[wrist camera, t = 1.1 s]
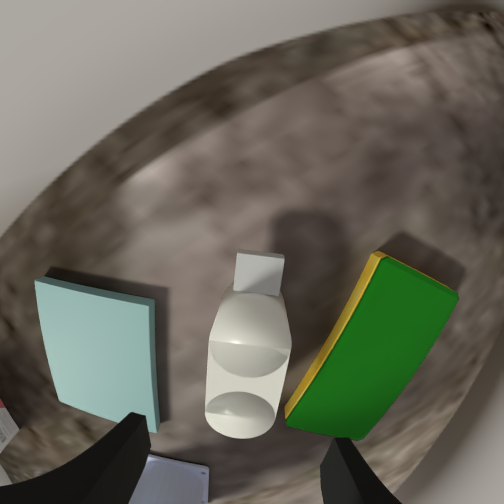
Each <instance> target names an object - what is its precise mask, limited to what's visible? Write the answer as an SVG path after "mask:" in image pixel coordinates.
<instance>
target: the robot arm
mask: <svg viewBox="0 0 504 504" xmlns="http://www.w3.org/2000/svg"><path fill="white" fill-rule="evenodd" d="M150 448H151V443H150V437H149V432H148V426H147V419H146V416H145V415H142V414H138V413H134V412H130V413H129V414H128V415H127V416H126V417H124V418H123V419H122V420H121V421H120V422H119V423H118V424H117V425H116V426H115V427H114V428H113V429H112V430H110V431H109V432H108V433H107V434H106V435H105V436H104V437H102V438H101V439H100V440H99V441H97V442H96V443H95V444H94V445H92V446H91V447H90V448H88V449H87V450H86V451H84V452H83V453H81V454H80V455H79V456H77V457H76V458H74V459H72V460H71V461H69V462H67V463H66V464H64V465H62V466H60V467H58V468H56V469H54V470H52V471H50V472H48V473H46V474H43V475H41V476H38V477H35V478H32V479H29V480H26V481H23V482H20V483H16V484H11V485H6V486H0V504H208V487H209V468H208V467H207V466H203V465H197V464H192V463H187V462H182V461H177V460H172V459H168V458H163V457H159V456H155V455H151V454H149V451H150ZM320 478H321V490H322V496H323V502H324V504H402V503H401V502H399V500H398V499H397V498H396V497H395V496H394V495H393V494H392V493H391V492H390V491H389V490H388V489H387V488H386V487H385V486H384V484H383V483H382V482H381V481H380V480H379V478H378V477H377V476H376V475H375V473H374V472H373V471H372V470H371V468H370V467H369V466H368V464H367V463H366V461H365V460H364V459H363V457H362V456H361V454H360V453H359V451H358V450H357V448H356V447H355V445H354V444H353V442H352V441H351V440H350V438H349V437H343V438H334V439H333V441H332V443H331V445H330V447H329V449H328V451H327V453H326V455H325V457H324V459H323V461H322V463H321V465H320Z"/></svg>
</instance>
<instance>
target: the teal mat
mask: <svg viewBox="0 0 504 504" xmlns="http://www.w3.org/2000/svg"><path fill="white" fill-rule="evenodd" d="M35 289H36V297H37V304H38V311H39V318H40V324H41V329H42V334H43V339H44V344H45V349H46V353H47V358H48V362H49V366H50V370H51V374H52V377H53V381H54V385H55V388H56V391H57V395H58V398H59V401H61V402H63V403H66V404H68V405H70V406H73V407H75V408H78V409H81V410H83V411H86V412H89V413H91V414H94V415H97V416H100V417H103V418H106V419H109V420H112V421H115V422H118V423H119V422H120V421H121V420H122V419H123V418H124V417H126V416H127V415H128V414H129V413H130V412H134V413H138V414H142V415H145V416H146V419H147V426H148V431H150V432H154V433H157V431H158V429H159V426H160V415H159V403H158V390H157V373H156V350H155V299H150V298H144V297H139V296H133V295H128V294H123V293H118V292H113V291H108V290H103V289H98V288H93V287H88V286H84V285H79V284H75V283H70V282H66V281H61V280H57V279H53V278H49V277H44V276H43V277H41V278H39V279H37V280H35Z"/></svg>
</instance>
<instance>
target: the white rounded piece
mask: <svg viewBox="0 0 504 504" xmlns="http://www.w3.org/2000/svg"><path fill="white" fill-rule="evenodd" d="M284 260H285V258H284V255H283V254H275V253H267V252H259V251H251V250H243V249H239V250H238V252H237V260H236V269H235V278H234V282H233V283H232V284H231V285H230V286H229V287H228V288H227V290H226V291H225V293H224V295H223V298H222V301H221V304H220V307H219V310H218V313H217V316H216V318H215V321H214V324H213V327H212V330H211V333H210V337H209V349H208V365H207V382H206V402H205V416H206V420H207V422H208V423H209V425H210V426H211V427H212V428H213V429H214V430H216V431H217V432H219V433H221V434H223V435H225V436H228V437H232V438H241V439H244V438H253V437H256V436H259V435H262V434H263V433H265V432H267V431H268V430H269V429H270V428H271V427H272V425H273V424H274V421H275V417H276V413H277V409H278V405H279V401H280V397H281V392H282V388H283V384H284V379H285V375H286V370H287V366H288V361H289V357H290V352H291V346H292V341H291V335H290V330H289V324H288V319H287V313H286V308H285V303H284V298H283V295H282V293H281V291H280V286H281V280H282V273H283V267H284Z"/></svg>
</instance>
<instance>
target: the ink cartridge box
mask: <svg viewBox="0 0 504 504" xmlns="http://www.w3.org/2000/svg"><path fill="white" fill-rule="evenodd" d="M18 431H19V428H18V426H17V425H16V423H15V422H14V420H13V419H12V417H11V416H10V414H9V412H8V411H7V409H6V407H5V406H4V404H3V402H2V401H1V399H0V453H1V452H2V450H3V449H4V448H5V447H6V446H7V444H8V443H9V442H10V441H11V439H12V438H13V437H14V436H15V435H16V434H17V432H18Z"/></svg>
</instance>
